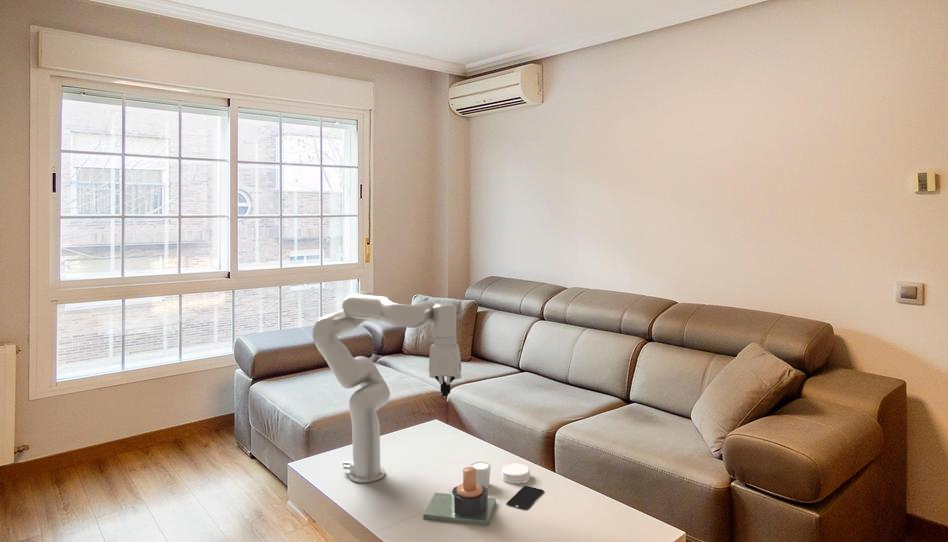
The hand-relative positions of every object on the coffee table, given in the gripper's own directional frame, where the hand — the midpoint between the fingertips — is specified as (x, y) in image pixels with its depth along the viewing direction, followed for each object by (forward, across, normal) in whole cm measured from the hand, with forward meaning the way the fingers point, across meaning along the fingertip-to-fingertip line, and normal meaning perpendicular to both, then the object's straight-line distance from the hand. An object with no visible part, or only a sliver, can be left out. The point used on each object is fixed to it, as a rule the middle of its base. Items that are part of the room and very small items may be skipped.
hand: (445, 395), depth 193 cm
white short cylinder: (+33, +22, +12) cm, 41 cm away
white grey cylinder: (+32, +11, +4) cm, 34 cm away
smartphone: (+33, +27, -2) cm, 42 cm away
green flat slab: (+32, +8, -14) cm, 36 cm away
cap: (+29, +11, -14) cm, 34 cm away
